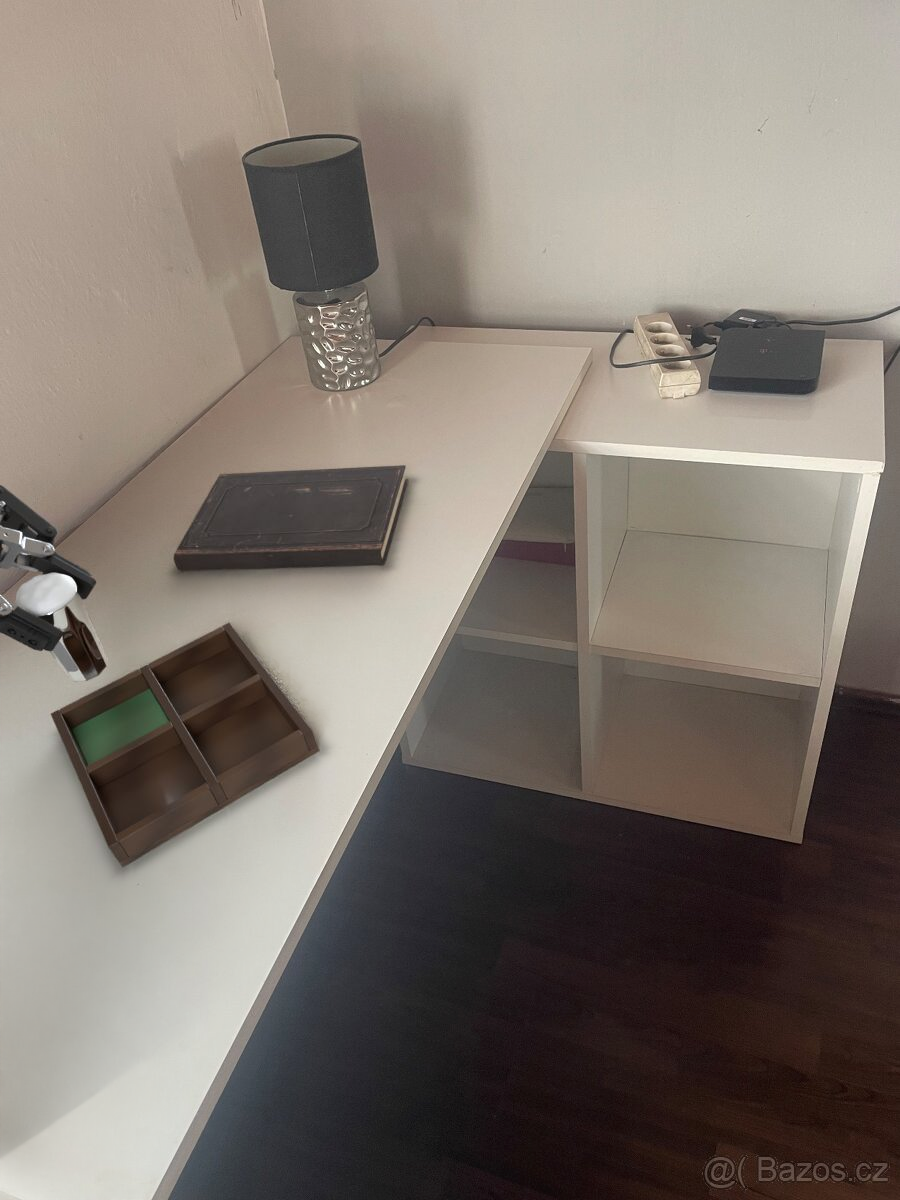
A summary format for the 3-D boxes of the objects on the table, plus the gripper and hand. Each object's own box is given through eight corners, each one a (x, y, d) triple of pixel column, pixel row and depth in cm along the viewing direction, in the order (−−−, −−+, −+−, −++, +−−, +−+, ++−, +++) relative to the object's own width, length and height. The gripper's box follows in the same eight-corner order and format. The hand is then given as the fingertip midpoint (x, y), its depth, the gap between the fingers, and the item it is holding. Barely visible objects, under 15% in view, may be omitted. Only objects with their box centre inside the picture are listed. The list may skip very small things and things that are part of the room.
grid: (122, 867, 66) (108, 847, 65) (63, 733, 78) (50, 713, 76) (319, 751, 73) (312, 729, 71) (238, 642, 84) (229, 621, 82)
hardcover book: (225, 489, 106) (219, 473, 104) (408, 481, 102) (405, 464, 100) (178, 573, 94) (171, 557, 92) (384, 568, 90) (379, 551, 88)
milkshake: (41, 689, 70) (-18, 597, 63) (84, 644, 73) (32, 552, 67) (85, 700, 68) (28, 607, 62) (126, 653, 72) (77, 560, 65)
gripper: (-211, 522, 53) (49, 658, 59) (-79, 406, 64) (130, 530, 70) (-229, 589, 58) (14, 709, 64) (-103, 470, 68) (96, 582, 74)
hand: (74, 615), depth 67 cm, fingers closed on milkshake, 5 cm apart
